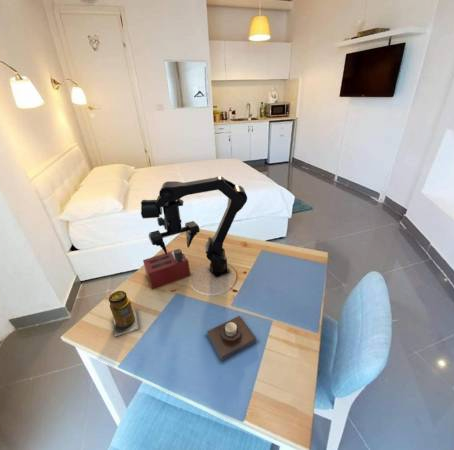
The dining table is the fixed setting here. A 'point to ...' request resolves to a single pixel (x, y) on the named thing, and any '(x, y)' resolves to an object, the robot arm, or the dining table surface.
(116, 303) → the condiment
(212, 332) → the control block
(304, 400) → the dining table surface
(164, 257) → the toaster
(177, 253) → the toaster slider
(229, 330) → the button
